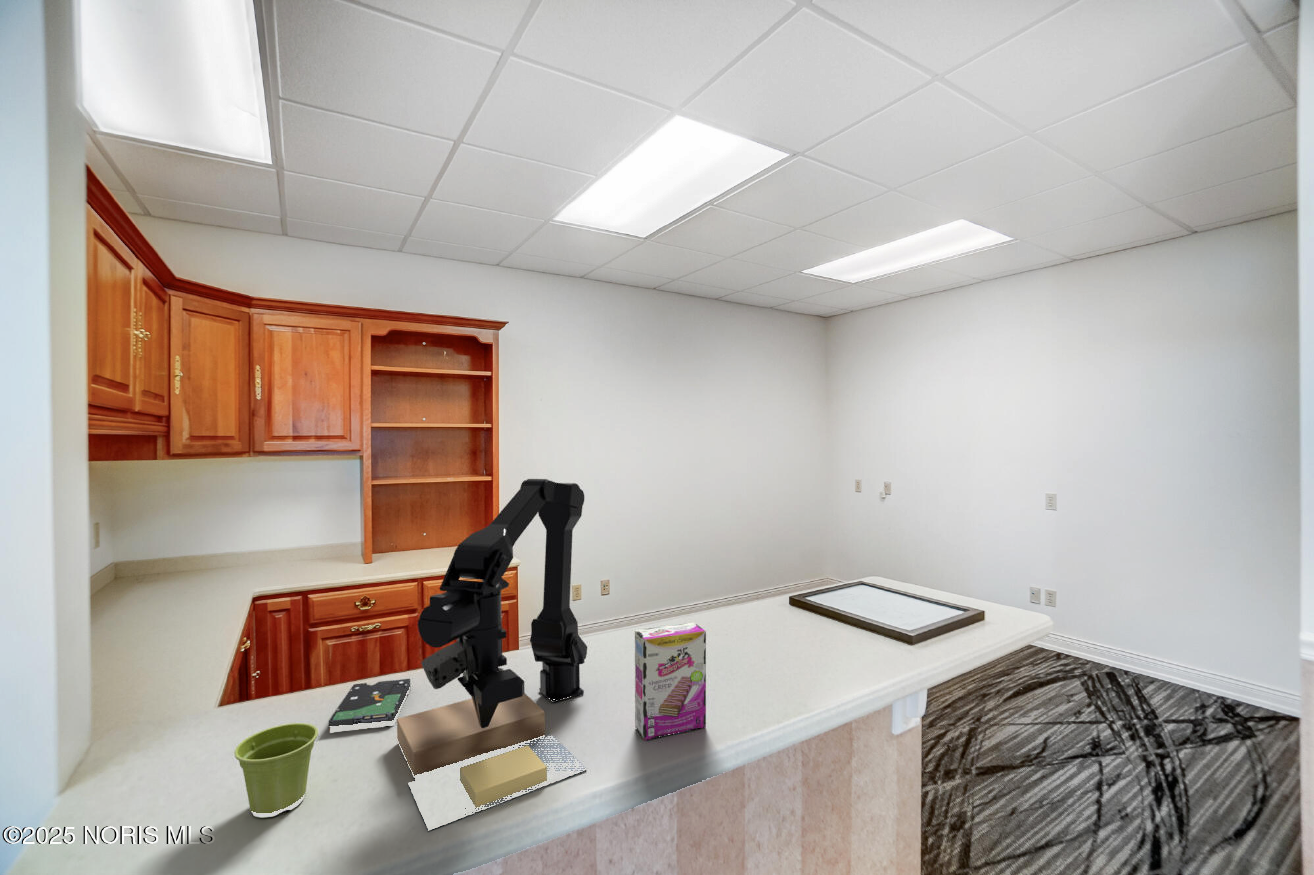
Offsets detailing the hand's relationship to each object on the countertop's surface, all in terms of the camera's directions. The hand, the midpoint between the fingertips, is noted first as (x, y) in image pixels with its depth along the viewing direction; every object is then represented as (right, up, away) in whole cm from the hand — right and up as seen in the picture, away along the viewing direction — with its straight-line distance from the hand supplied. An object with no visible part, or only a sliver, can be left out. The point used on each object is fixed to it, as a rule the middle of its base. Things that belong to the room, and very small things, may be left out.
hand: (484, 726), depth 88 cm
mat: (+4, -5, -5) cm, 8 cm away
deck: (-4, -5, +5) cm, 8 cm away
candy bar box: (+29, -5, +8) cm, 30 cm away
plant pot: (-24, -6, -10) cm, 27 cm away
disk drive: (-25, -6, +16) cm, 30 cm away
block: (+5, -3, -7) cm, 8 cm away
